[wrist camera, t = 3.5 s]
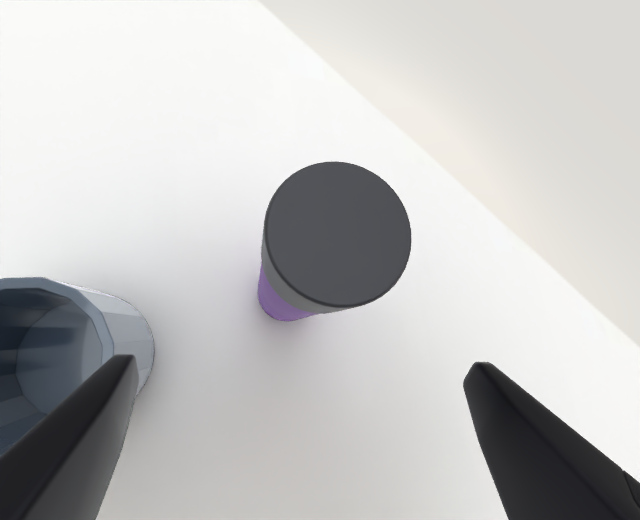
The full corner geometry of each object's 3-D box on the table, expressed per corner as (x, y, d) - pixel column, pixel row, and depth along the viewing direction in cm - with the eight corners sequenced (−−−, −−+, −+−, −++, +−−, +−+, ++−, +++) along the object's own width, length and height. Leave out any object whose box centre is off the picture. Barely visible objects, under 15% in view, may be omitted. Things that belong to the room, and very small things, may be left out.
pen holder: (79, 453, 16) (-3, 512, 11) (-18, 362, 16) (-147, 378, 11) (181, 350, 18) (151, 359, 13) (92, 268, 18) (26, 242, 13)
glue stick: (288, 334, 19) (348, 341, 7) (244, 293, 19) (229, 230, 7) (327, 290, 20) (440, 231, 8) (285, 251, 20) (334, 132, 8)
